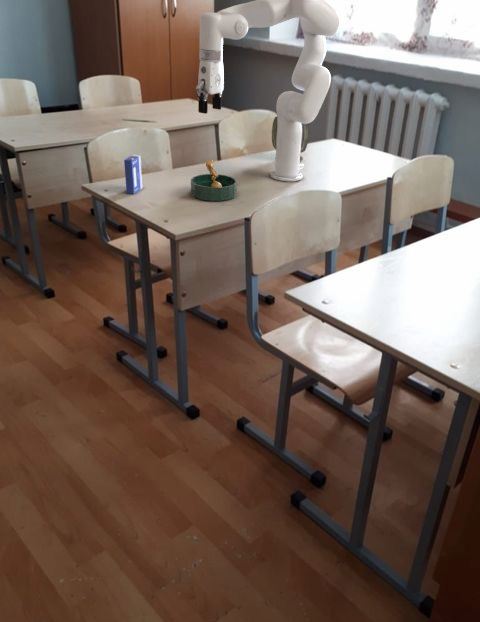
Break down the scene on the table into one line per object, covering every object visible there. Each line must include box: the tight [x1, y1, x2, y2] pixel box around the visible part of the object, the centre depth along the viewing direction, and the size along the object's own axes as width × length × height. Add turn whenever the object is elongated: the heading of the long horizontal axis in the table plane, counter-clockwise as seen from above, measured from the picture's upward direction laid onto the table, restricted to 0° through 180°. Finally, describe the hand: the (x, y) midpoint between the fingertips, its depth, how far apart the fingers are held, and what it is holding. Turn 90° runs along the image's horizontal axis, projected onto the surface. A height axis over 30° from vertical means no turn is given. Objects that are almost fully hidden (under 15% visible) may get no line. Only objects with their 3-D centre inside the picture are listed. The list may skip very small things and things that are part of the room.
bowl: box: [190, 173, 238, 202], centre depth 212 cm, size 16×16×5 cm
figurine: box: [205, 159, 222, 187], centre depth 210 cm, size 8×6×12 cm
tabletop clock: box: [271, 115, 310, 161], centre depth 253 cm, size 14×9×25 cm, turn 102°
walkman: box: [123, 154, 143, 195], centre depth 209 cm, size 8×3×12 cm, turn 167°
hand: (210, 110), depth 204 cm, fingers open, 9 cm apart
